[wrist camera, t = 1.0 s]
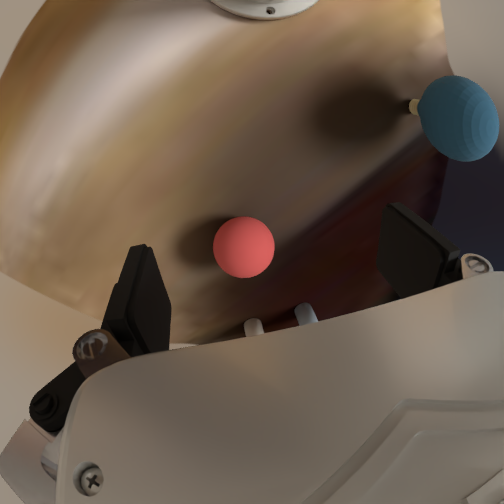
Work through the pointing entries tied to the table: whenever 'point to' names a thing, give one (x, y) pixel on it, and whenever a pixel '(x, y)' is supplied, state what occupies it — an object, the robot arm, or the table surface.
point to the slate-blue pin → (305, 314)
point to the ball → (243, 247)
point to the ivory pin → (253, 327)
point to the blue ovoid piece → (458, 118)
